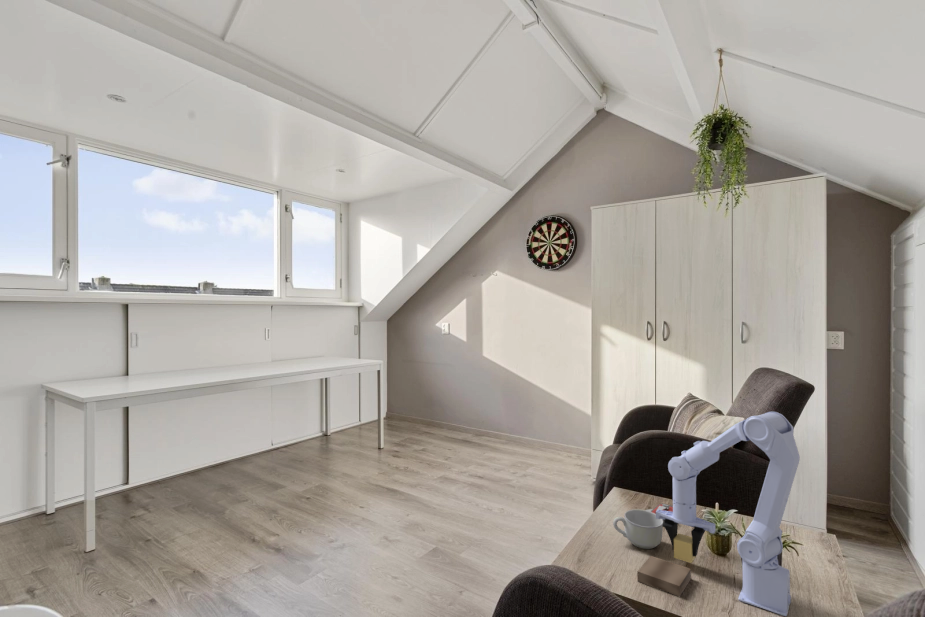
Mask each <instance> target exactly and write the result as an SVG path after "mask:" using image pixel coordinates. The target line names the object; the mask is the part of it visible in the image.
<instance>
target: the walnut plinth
mask: <svg viewBox="0 0 925 617" xmlns="http://www.w3.org/2000/svg"><path fill="white" fill-rule="evenodd" d="M636 579H637V582H639V583H642V584H644V585H646V586H649V587H652V588H654V587H655V589H657V588H658V590H660V589H661V590H660V591H663V590H664V591H663V592H665V593H668V592H669V593H668V594H672V595H674V596H677V597H679V596H681V595H682V594H683V592H684V590H685V588H687V586H688V584H689V583H690V581H691V580H692V569H691V568H689V567H687V566H683V565H681V564H677V563H674V562H672V561H668V560H666V559H665V560H664V559H662V558H659V557H655V556H653V555H650V556H649V557H648V558H647V559H646V560H645V562H644V563H643V564H642V565H641V566H640V568H639V569H638V570H637V578H636Z"/></svg>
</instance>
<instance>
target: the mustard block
mask: <svg viewBox="0 0 925 617" xmlns="http://www.w3.org/2000/svg"><path fill="white" fill-rule="evenodd" d="M692 550H693V541H692V536H690V535H686V534H682V533H680V532H679V533H678V532H677V536H676V537H675V538H674V550H673V558H674V559H677V560H680V561H684V562H685V563H686V562H687V563H689V564H693V562H694V561H695V559H696V558H697V556H696V557H695V556H693V552H692Z"/></svg>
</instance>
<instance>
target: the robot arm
mask: <svg viewBox="0 0 925 617" xmlns="http://www.w3.org/2000/svg"><path fill="white" fill-rule="evenodd" d="M794 429H795V427H794V426H793V425H792V424H791V422H789V420H788V419H787V418H786V417H785V416H784V415H783V414H782V413H779V412H777V411H767V412H764V413H762V414H759V415H752V416H749V417H747V418H746V419H744V420H741V421H739V422H737V423H735V424H733V425H732V426H730V427H729V428H728V429H726V430H725V431H723V433H721V434H719V435H718V436H717V437H715V438H713V439H712V440H711V441H707V440H702V441H701V440H697V441H695V442H693V447H691V448H689V449H687V450H683V451H681V455H680V456H673V457H672V458H671V459H670V460H669V461H668V464H667V468H668V469H667V470H668V472H669V473H670V475H671V476H672V506H673V512H671V511H664V510H659V509H658V510H657V511H656V519H664V520H665V523H664V526H663V527H664V529H665V530H666V532H667V535H668V537H669V540H670V543H671V547H672V548H671V549H672V551H674V538H675V537H676V536H677V535H678V530H679V529H678V528H679V527H678V526H679V525H683V526H686V527H687V526H688V527H691V528H692V530H691V531H690V532H691V537H692V541H693V550H692V552H693V556H695V557H696V558H697V555H698V551H699V546H700V543H701V541H702V539H703V537H704V534H705V532H709V533H711V534H715V532H716V523H713V522H710V521H707V520H705V519H702V518H700V517H698V516H697V477H698V475H700V472H701V471H703V470H705V469H707V468H708V467H710V466H711V465H713V464H715V463H716V462H718V461H719V460H720V453H721V452H724V451H725V450H727V449H729V448H731V447H733V446H734V445H736V444H737V443H739V442H741V441H743V442H749V441H751V442H752V443H753V444H754V445H755V446H757V447H758V448H759V449H760V450H761V451H762V452H764V453H765V455H766V456H767V457H768V459H769V464H768V467H767V469H766V474H765V477H764V481H763V484H762V488H761V491H760V495H759V498H758V501H757V505H756V508H755V512H754V516H753V518H752V521H751V523H750V524H749V526H748V527H747V528H746V529H745V531H744V535H743V536H742V537H741V538H739V540H737V543H736V549H737V552H738V555H739V556H740V558H741V560H742V588H741V591H740V593H739V595H738V599H737V600H738V601H740V602H742V603H744V604H745V603H746V604H748V605H752V606H754V607H758V608H760V609H763V610H766V611H769V612H772V613H774V614H777V615H781V616H784V617H787V616H788V612H789V608H790V604H791V602H792V595H791V587H790V586H791V576H790V573H791V572H790V569H788V568H786V567H783V566H782V565H779V559H778V555H781V553H782V552H783V547H784V546H783V541H782V536H783V530H782V529H781V528H780V527H781V523H782V521H783V516H784V513H785V510H786V506H787V503H788V501H789V498H790V493H791V490H792V486H793V483H794V480H795V478H796V477H795V476H796V475H797V474H796V473H797V470H798V467H799V464H800V461H801V459H800V453H799V450H798V447H797V443H796V440H795V437H794V436H795V435H794V432H795V430H794Z"/></svg>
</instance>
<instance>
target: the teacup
mask: <svg viewBox="0 0 925 617" xmlns="http://www.w3.org/2000/svg"><path fill="white" fill-rule="evenodd" d="M646 510H647V509H645V510H644V509H637V508H635V509H629V510H627V511H625V512H624V513H623V514H624V517H622V516H617V517H615V518H614V519H613V521H612V524H613V527H614V529H615V530H616V531H617V532H618V533H620V534H621V535H622V536H623V537H624V538H626V539H627V540H628V541H629V542H630V543H631V544H632V545H633V546H634V547H637V548H639V549H643V550H651V549H653V548H655V547H657V546H659V545H660V544H661V543H662V539H663V530H664V529H663V527H664V526H663V519H656V514H655V513H652V512H650V511H646ZM618 522H622V523H623V526H624V527H623V528H624V530H623V529H621V528H620V527H619V526H618V525H617V524H618Z"/></svg>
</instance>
